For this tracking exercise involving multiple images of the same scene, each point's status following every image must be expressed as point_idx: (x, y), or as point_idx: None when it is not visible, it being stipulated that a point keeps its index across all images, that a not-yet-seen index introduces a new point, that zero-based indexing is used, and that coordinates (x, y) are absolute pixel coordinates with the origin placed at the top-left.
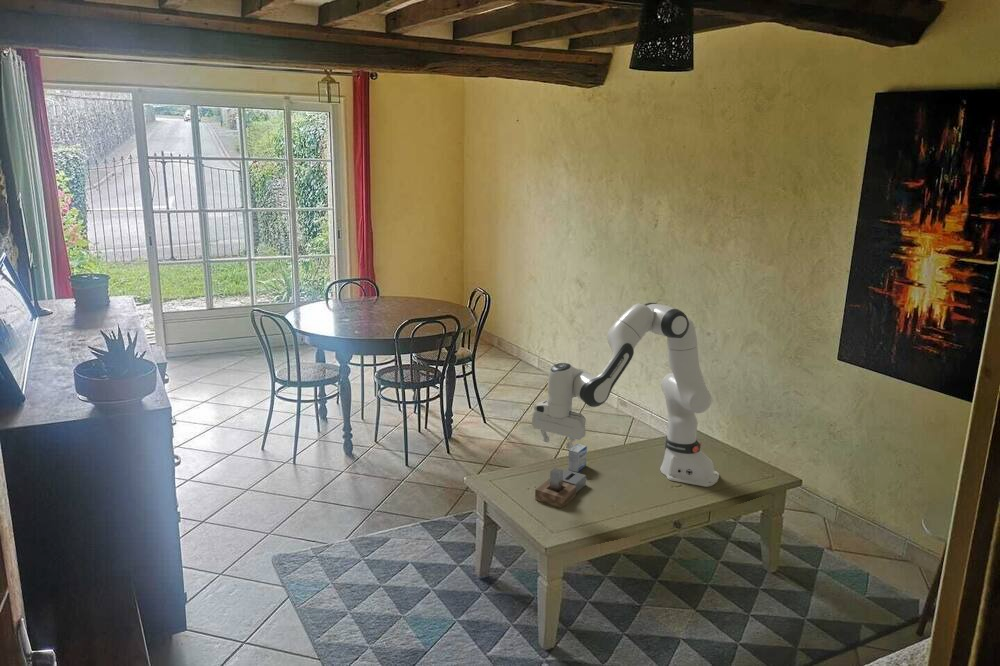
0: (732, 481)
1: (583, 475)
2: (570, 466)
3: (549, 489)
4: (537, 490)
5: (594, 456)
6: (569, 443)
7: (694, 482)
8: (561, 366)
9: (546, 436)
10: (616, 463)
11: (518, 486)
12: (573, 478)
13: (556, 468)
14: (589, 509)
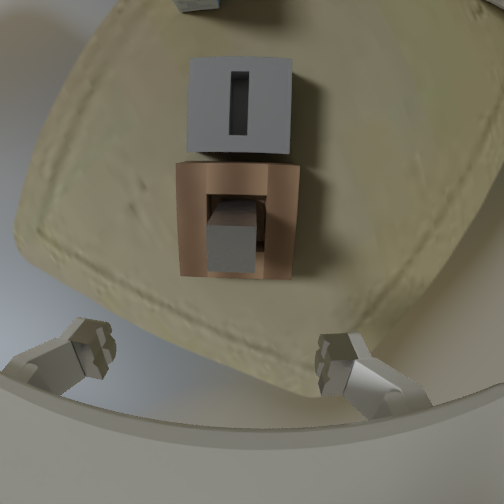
0: None
1: (284, 66)
2: (185, 5)
3: (209, 218)
4: (189, 275)
5: None
6: (352, 400)
7: (497, 3)
8: None
9: (75, 358)
10: None
11: (103, 215)
12: (260, 110)
13: (216, 228)
14: (365, 226)
